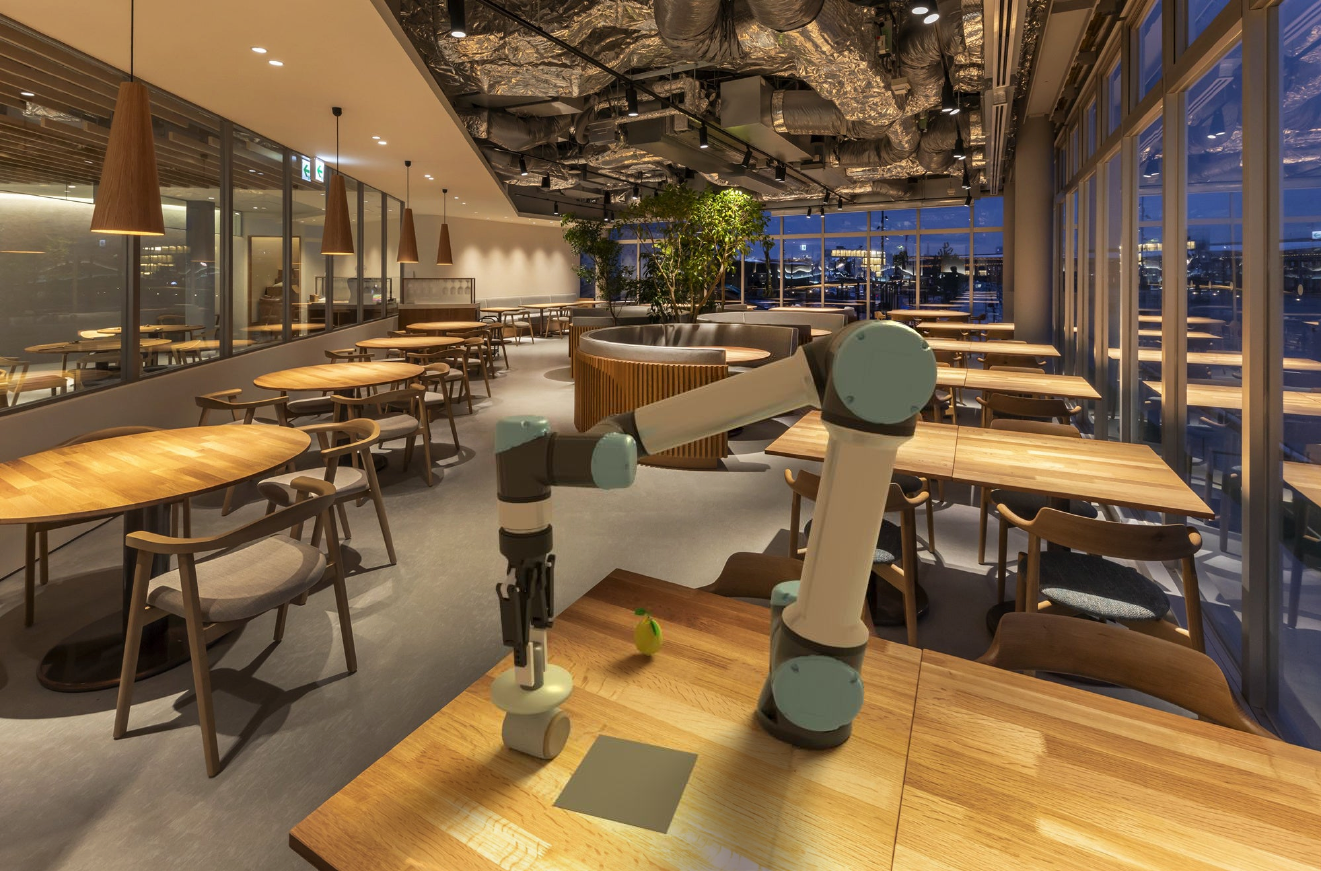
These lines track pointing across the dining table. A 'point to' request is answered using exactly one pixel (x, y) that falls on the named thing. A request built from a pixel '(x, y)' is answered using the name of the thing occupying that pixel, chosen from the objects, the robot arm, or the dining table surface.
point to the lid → (532, 688)
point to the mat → (629, 783)
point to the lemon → (647, 634)
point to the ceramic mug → (537, 732)
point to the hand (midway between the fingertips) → (531, 676)
